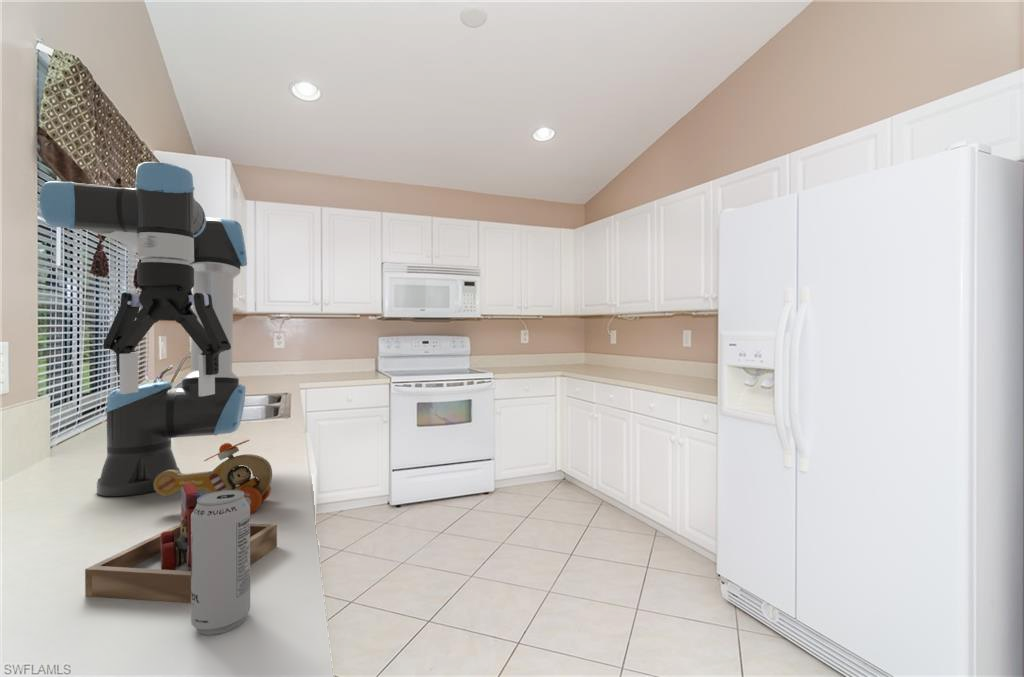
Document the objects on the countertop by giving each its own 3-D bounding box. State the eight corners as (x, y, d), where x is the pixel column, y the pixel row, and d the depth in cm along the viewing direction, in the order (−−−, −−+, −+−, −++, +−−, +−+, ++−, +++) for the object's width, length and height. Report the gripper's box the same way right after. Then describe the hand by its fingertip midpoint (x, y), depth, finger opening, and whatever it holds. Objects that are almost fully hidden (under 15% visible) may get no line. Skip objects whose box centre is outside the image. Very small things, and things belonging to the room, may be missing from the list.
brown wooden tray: (186, 541, 81) (186, 520, 81) (276, 546, 79) (276, 524, 79) (85, 595, 64) (85, 569, 64) (197, 603, 62) (197, 575, 62)
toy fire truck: (162, 586, 64) (161, 507, 64) (159, 553, 74) (159, 484, 74) (223, 570, 68) (222, 496, 68) (212, 541, 78) (212, 476, 78)
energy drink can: (200, 613, 60) (199, 491, 60) (254, 604, 62) (254, 486, 62) (183, 642, 54) (183, 507, 54) (244, 632, 56) (244, 501, 56)
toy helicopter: (265, 513, 94) (265, 442, 94) (143, 521, 90) (143, 447, 90) (277, 499, 102) (276, 433, 102) (165, 506, 98) (165, 438, 98)
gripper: (72, 260, 76) (75, 395, 77) (222, 260, 74) (224, 399, 74) (116, 265, 83) (118, 388, 84) (253, 265, 81) (254, 392, 82)
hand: (167, 394), depth 79 cm, fingers open, 13 cm apart
